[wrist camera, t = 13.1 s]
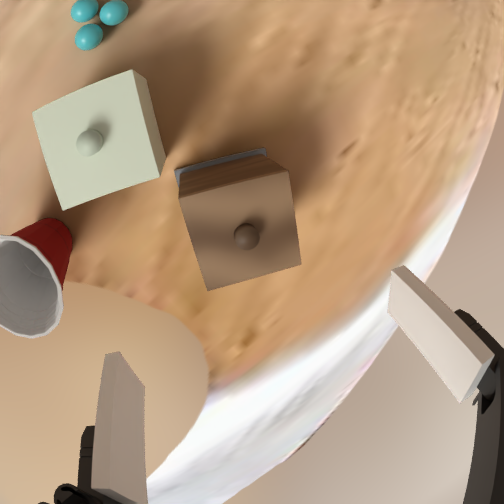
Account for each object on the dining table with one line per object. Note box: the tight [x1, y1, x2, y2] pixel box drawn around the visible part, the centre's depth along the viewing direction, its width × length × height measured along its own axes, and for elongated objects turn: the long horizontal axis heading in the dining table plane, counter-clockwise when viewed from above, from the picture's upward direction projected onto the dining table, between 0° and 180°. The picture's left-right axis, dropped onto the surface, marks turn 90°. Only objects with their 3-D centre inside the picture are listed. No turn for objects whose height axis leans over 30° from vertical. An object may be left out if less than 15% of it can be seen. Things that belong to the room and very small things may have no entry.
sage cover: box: [32, 69, 166, 211], centre depth 23 cm, size 9×9×10 cm
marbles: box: [71, 0, 128, 50], centre depth 23 cm, size 18×6×3 cm, turn 11°
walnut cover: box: [179, 154, 301, 291], centre depth 29 cm, size 9×9×10 cm
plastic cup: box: [0, 218, 72, 338], centre depth 26 cm, size 11×11×12 cm
